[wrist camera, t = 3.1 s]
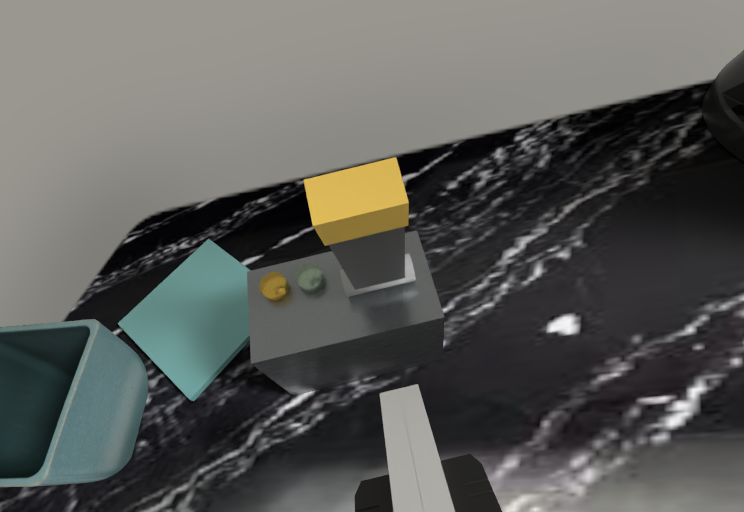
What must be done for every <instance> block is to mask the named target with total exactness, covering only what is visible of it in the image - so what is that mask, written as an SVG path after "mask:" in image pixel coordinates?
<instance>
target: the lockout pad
mask: <svg viewBox="0 0 744 512" xmlns="http://www.w3.org/2000/svg"><path fill="white" fill-rule="evenodd" d="M248 271H250V270H249V269H248V268H246V267H245V266H244V265H242V264H241V263H240V262H238V261H237V260H236V259H235V258H233V257H232V256H231V255H229V254H228V253H227V252H225V251H224V250H223V249H221V248H220V247H219V246H217V245H216V244H215V243H214V242H212V241H211V240H210V239H208V240H207V241H206V242H204V243H203V244H202V245H201V246H200V247H199V248H198V249H197V250H196V251H195V252H194V253H193V254H192V255H191V256H189V257H188V258H187V259H186V260H185V261H184V262H183V263H182V264H181V265H180V266H179V267H178V268H177V269H176V270H174V271H173V272H172V273H171V274H170V275H169V276H168V277H167V278H166V279H165V280H164V281H163V282H162V283H161V284H159V285H158V286H157V287H156V288H155V289H154V290H153V291H152V292H151V293H150V294H149V295H148V296H147V297H146V298H144V299H143V300H142V301H141V302H140V303H139V304H138V305H137V306H136V307H135V308H134V309H133V310H132V311H131V312H129V313H128V314H127V315H126V316H125V317H124V318H123V319H122V320H121V321H120V322H119V323H118V325H119V326H120V327H121V328H122V329H123V330H124V331H125V332H126V333H127V334H128V335H129V336H130V337H131V339H132V340H133V341H134V342H135V343H136V344H137V345H138V346H139V347H140V348H141V349H142V350H143V351H144V352H145V353H146V354H147V355H148V356H149V357H150V359H151V360H152V361H153V362H154V363H155V364H156V365H157V366H158V367H159V368H160V369H161V370H162V371H163V372H164V373H165V374H166V375H167V376H168V377H169V378H170V380H171V381H172V382H173V383H174V384H175V385H176V386H177V387H178V388H179V389H180V390H181V391H182V392H183V393H184V394H185V395H186V396H187V397H188V398H189V400H192V401H195V400H196V399H197V397H198V396H199V395H200V394H201V393H202V392H203V391H204V390H205V389H206V388H207V387H208V385H209V384H210V383H211V382H212V381H213V380H214V379H215V378H216V377H217V376H218V375H219V373H220V372H221V371H222V370H223V369H224V368H225V367H226V366H227V365H228V364H229V363H230V362H231V360H232V359H233V358H234V357H235V356H236V355H237V354H238V353H239V352H240V351H241V350H242V348H243V347H244V346H245V345H246V344H247V343H248V342H249V341H250V332H249V309H248V286H247V272H248Z"/></svg>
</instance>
